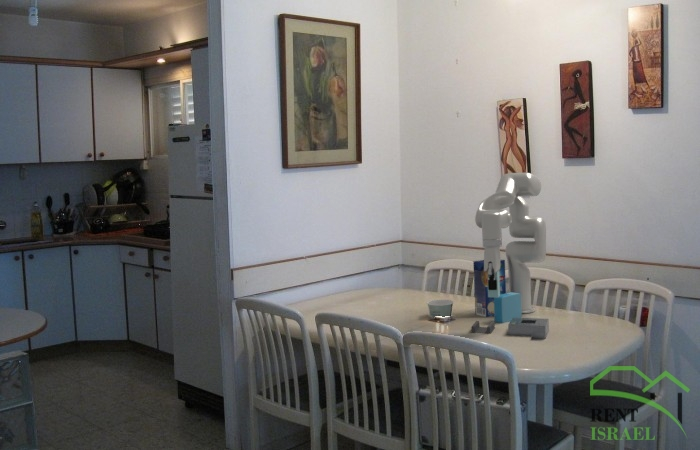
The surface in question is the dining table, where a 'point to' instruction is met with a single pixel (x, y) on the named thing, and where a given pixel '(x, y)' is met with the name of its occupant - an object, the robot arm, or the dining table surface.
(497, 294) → the teal plug
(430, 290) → the dining table surface
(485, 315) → the juice carton
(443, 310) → the food container
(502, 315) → the data package
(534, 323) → the port block
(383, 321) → the dining table surface
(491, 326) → the bracket
